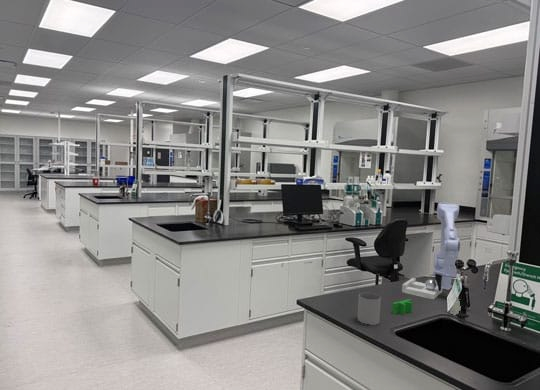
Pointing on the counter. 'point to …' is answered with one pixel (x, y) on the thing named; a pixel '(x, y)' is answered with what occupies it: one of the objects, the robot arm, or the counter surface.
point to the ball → (430, 284)
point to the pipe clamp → (402, 307)
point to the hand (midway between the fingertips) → (448, 292)
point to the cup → (369, 308)
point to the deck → (419, 289)
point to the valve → (456, 307)
